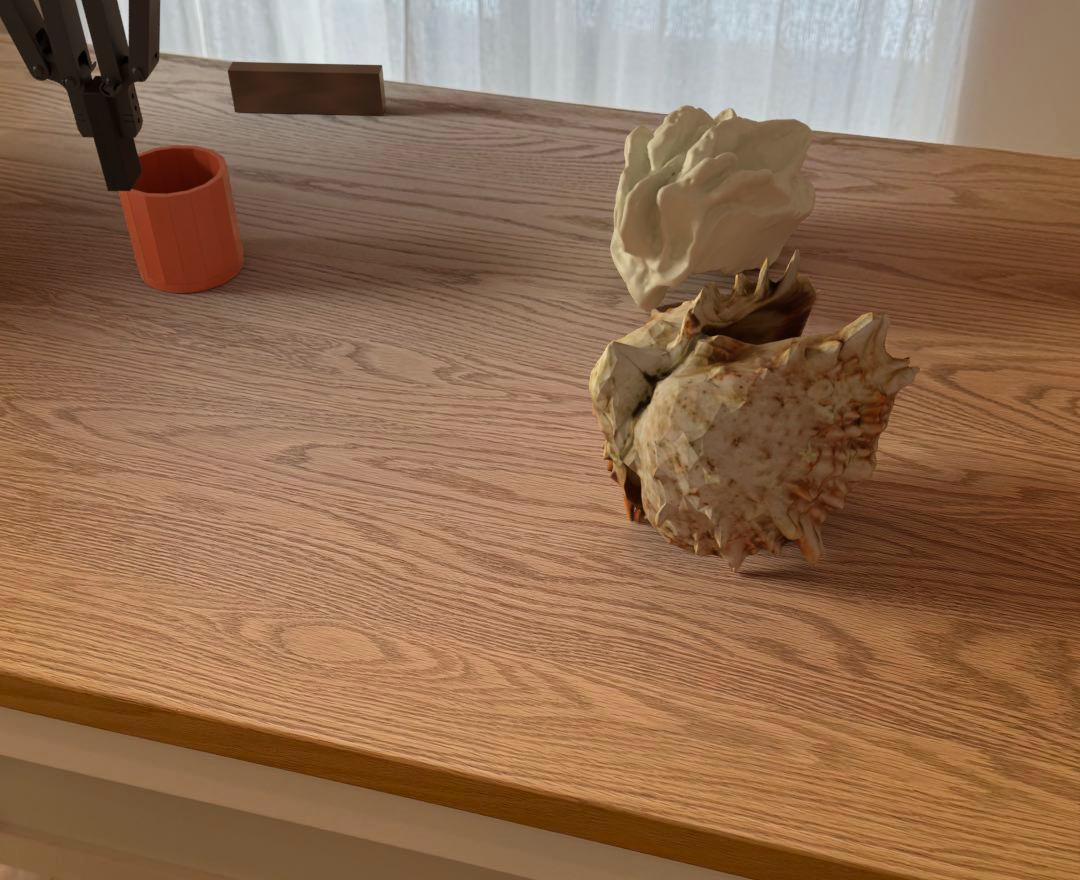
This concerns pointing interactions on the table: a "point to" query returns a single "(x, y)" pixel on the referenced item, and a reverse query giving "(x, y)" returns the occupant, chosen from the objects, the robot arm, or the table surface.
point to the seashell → (744, 416)
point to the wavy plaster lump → (707, 198)
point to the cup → (183, 220)
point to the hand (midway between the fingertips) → (125, 180)
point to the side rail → (307, 88)
